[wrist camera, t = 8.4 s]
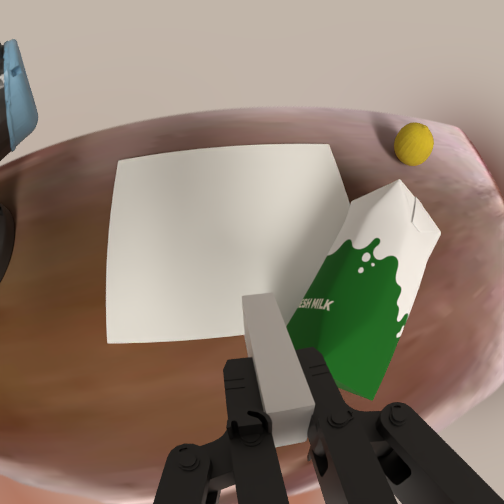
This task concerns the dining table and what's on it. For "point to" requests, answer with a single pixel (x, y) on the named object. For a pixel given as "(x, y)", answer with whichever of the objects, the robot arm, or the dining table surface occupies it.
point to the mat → (217, 237)
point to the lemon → (413, 144)
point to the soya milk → (366, 287)
